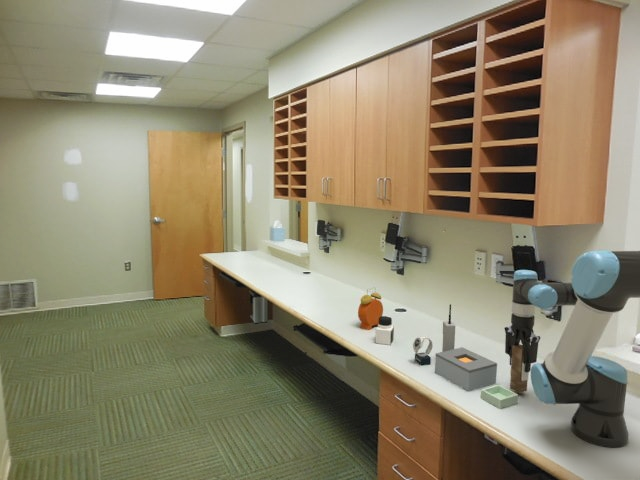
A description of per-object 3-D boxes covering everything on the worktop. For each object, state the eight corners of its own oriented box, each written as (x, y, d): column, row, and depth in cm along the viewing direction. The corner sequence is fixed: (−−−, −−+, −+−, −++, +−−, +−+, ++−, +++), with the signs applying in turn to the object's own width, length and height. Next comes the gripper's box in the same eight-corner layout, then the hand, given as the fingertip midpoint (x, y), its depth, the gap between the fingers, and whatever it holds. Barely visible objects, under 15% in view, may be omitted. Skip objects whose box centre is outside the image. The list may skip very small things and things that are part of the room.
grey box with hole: (495, 383, 180) (497, 363, 178) (468, 391, 173) (469, 370, 172) (461, 365, 195) (462, 347, 194) (434, 372, 189) (435, 353, 188)
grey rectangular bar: (449, 359, 202) (452, 302, 198) (453, 363, 197) (456, 305, 193) (441, 359, 202) (443, 302, 198) (444, 364, 197) (447, 305, 193)
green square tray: (517, 403, 165) (518, 394, 164) (500, 408, 161) (500, 400, 160) (498, 392, 172) (498, 384, 172) (480, 397, 168) (481, 389, 168)
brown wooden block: (526, 390, 171) (529, 347, 168) (519, 393, 169) (521, 349, 167) (517, 386, 174) (520, 344, 172) (509, 388, 172) (512, 346, 170)
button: (474, 366, 182) (475, 361, 182) (465, 369, 180) (465, 364, 180) (465, 362, 187) (465, 357, 186) (455, 364, 184) (455, 359, 184)
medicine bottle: (390, 345, 218) (391, 320, 216) (375, 343, 220) (375, 318, 218) (393, 340, 224) (394, 315, 223) (378, 338, 227) (379, 313, 225)
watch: (410, 361, 200) (411, 336, 198) (427, 358, 202) (428, 334, 201) (416, 366, 195) (417, 340, 193) (434, 364, 197) (435, 338, 195)
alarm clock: (373, 322, 250) (374, 285, 247) (383, 324, 246) (383, 287, 243) (357, 328, 241) (357, 289, 238) (366, 331, 236) (367, 291, 233)
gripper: (551, 319, 162) (547, 384, 165) (510, 306, 177) (507, 366, 180) (536, 322, 158) (532, 388, 162) (496, 309, 173) (493, 370, 176)
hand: (519, 377), depth 171 cm, fingers closed on brown wooden block, 4 cm apart
